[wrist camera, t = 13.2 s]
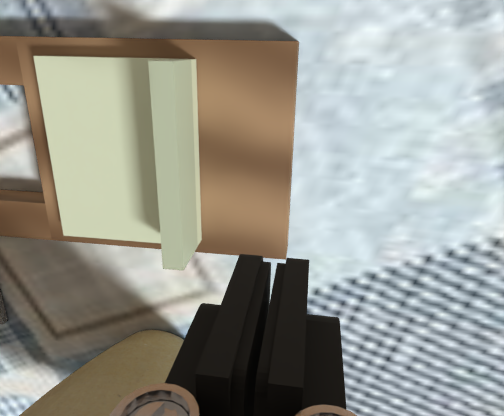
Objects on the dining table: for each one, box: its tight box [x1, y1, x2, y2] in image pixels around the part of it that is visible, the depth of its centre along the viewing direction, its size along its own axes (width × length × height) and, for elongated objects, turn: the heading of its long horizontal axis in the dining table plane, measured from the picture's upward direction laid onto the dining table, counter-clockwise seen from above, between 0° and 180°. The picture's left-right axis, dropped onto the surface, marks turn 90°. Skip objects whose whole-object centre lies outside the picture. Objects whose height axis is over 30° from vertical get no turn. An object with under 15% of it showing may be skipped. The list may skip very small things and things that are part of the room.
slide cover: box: [33, 56, 202, 270], centre depth 23 cm, size 11×9×4 cm
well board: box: [0, 36, 299, 259], centre depth 26 cm, size 13×26×2 cm, turn 89°
